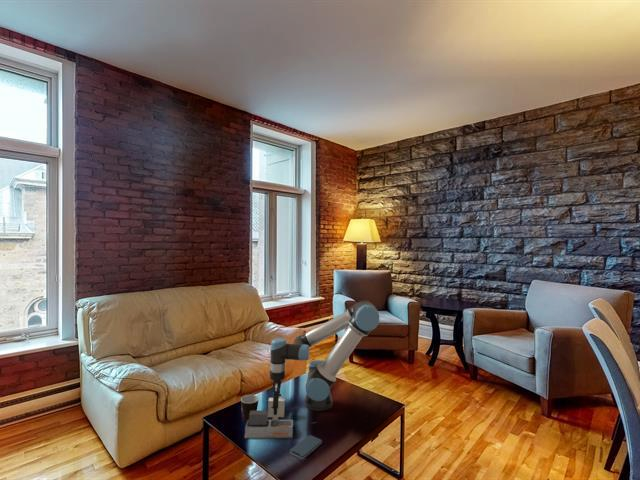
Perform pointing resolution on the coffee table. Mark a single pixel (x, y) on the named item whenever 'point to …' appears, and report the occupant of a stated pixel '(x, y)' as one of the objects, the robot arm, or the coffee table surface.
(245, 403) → the coffee mug
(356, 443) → the coffee table surface
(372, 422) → the coffee table surface
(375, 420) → the coffee table surface
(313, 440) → the smartphone
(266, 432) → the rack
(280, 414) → the beige rectangular block
